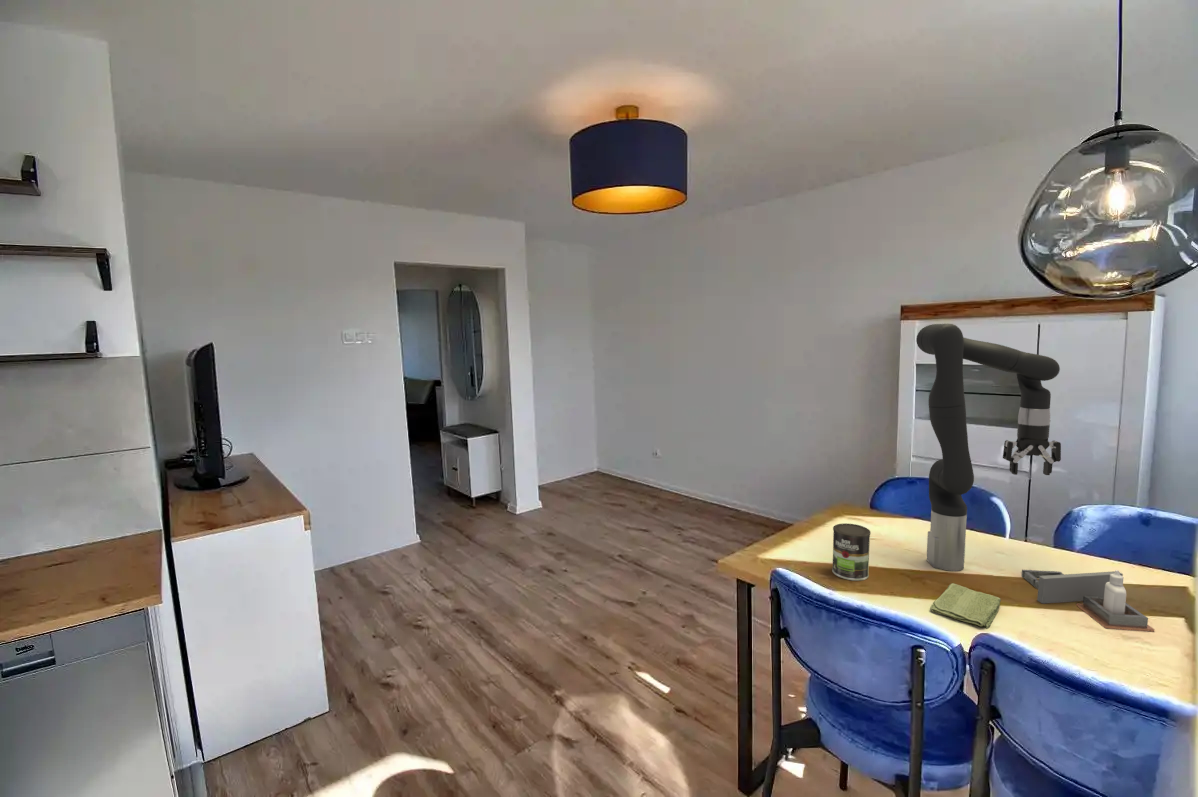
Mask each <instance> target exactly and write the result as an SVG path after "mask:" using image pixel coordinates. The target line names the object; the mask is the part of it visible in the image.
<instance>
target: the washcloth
mask: <svg viewBox="0 0 1198 797" xmlns="http://www.w3.org/2000/svg"><path fill="white" fill-rule="evenodd" d="M1001 599H1002V598H1000V597H998V596H995V595H991V594H990V593H989V594H988V593H985V592H982V591H977V590H973V589H970V588H968V587H966V586H962V585H960V584H957V583H949V585H947V588H946V589H945V590H944V591H943V592H942V594H941V595H939V597H937V599H935V601H934V602H932V604H931V606H930V608H929V609H930V610H929V611H931V612H933V613H935V614H939V615H942V616H945V617H949V618H952V619H954V620H957V621H961V622H964V623H969V624H973V625H976V626H979V627H981V628H984V629H989V628H990V626H991V625H992V623H993V620H994V619H995V617H996V615H997V613H998V612H999V609H1000V606H1001V601H1002V600H1001Z"/></svg>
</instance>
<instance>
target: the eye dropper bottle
mask: <svg viewBox="0 0 1198 797" xmlns="http://www.w3.org/2000/svg"><path fill="white" fill-rule="evenodd" d="M1114 571H1115V573H1114V574H1110V582H1107V583H1106V584H1105V591H1104V601H1103V607H1104V608H1105V609H1106V610H1108V611H1109V612H1110V613H1112V614H1125V604H1126V603H1127V602H1126V600H1127V590H1126V588H1125V586H1124V576H1121V575H1120V573H1121V572H1120V570H1117V569H1115V570H1114ZM1119 572H1120V573H1119Z"/></svg>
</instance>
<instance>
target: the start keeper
mask: <svg viewBox="0 0 1198 797" xmlns="http://www.w3.org/2000/svg"><path fill="white" fill-rule="evenodd" d="M1048 575H1064V573H1063V572H1062V571H1053V570H1038V569H1037V570H1036V569H1033V570H1032V569H1021V577H1022V578H1023V579H1024V580H1025V581H1027V582H1028V583H1029V584H1030V585H1032V586H1033V587H1034V588H1035V589H1036V590H1038V584H1039V576H1048Z"/></svg>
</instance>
